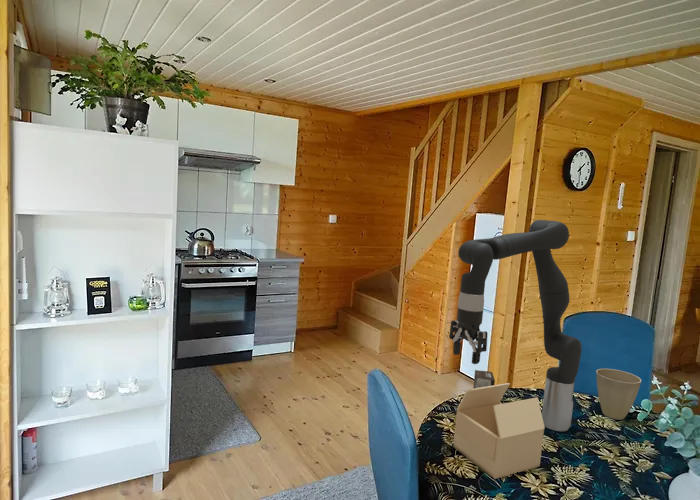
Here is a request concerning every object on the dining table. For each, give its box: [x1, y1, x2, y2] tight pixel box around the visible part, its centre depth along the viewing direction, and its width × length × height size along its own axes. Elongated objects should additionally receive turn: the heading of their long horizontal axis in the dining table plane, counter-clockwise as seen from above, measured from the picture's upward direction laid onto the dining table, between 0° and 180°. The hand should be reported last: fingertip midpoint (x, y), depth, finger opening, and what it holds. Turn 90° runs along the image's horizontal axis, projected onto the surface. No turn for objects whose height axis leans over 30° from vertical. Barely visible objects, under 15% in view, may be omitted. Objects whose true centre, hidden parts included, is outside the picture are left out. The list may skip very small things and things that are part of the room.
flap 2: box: [493, 396, 546, 439], centre depth 135 cm, size 17×9×1 cm
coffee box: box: [472, 369, 496, 389], centre depth 168 cm, size 9×6×16 cm
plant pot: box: [595, 368, 642, 421], centre depth 177 cm, size 15×15×16 cm
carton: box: [453, 402, 545, 480], centre depth 142 cm, size 19×18×12 cm
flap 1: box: [456, 382, 511, 411], centre depth 148 cm, size 17×9×1 cm
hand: (465, 358), depth 143 cm, fingers open, 8 cm apart
